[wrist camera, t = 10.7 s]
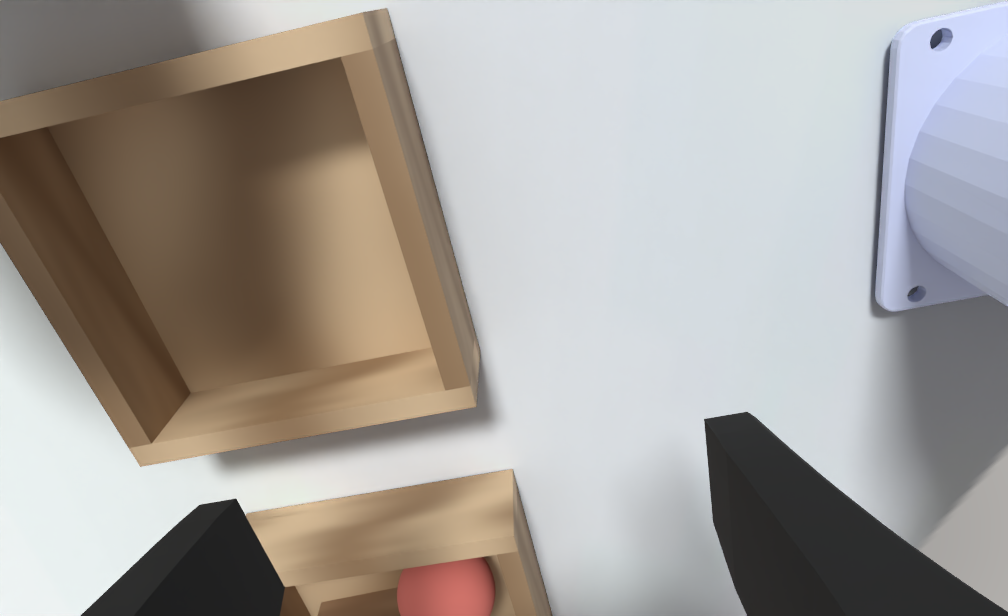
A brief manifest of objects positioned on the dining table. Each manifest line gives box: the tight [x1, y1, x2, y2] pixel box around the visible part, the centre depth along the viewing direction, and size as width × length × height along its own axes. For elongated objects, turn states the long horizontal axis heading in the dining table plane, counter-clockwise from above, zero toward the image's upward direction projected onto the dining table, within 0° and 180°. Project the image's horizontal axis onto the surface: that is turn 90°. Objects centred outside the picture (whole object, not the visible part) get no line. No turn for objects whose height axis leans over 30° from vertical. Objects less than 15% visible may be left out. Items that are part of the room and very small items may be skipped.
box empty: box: [0, 8, 480, 467], centre depth 17 cm, size 10×10×3 cm
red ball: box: [397, 557, 495, 616], centre depth 22 cm, size 3×3×3 cm
